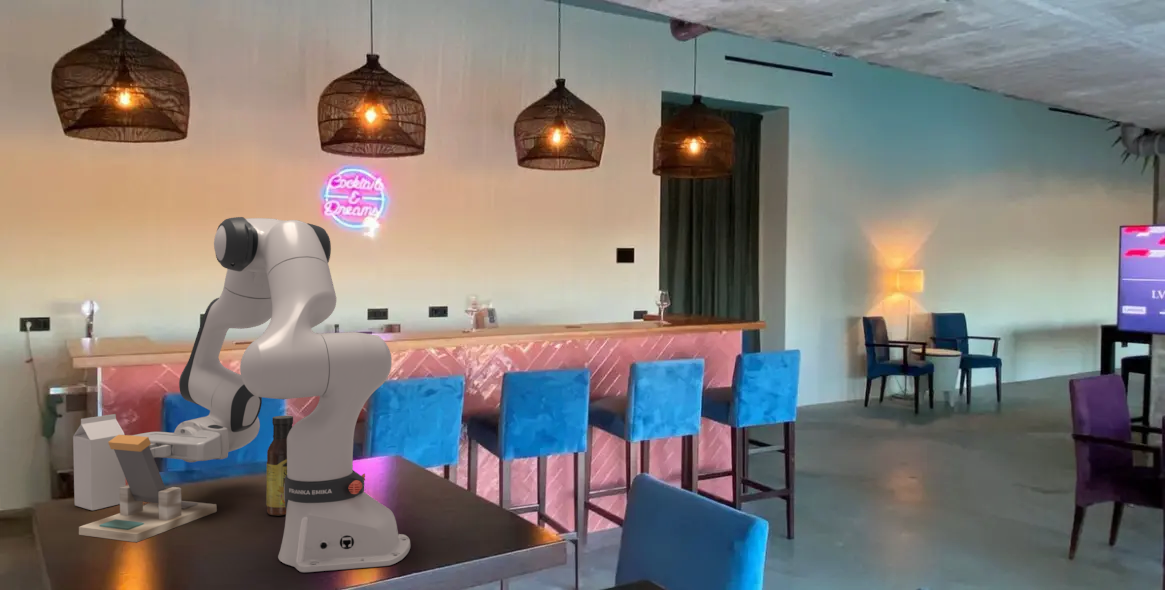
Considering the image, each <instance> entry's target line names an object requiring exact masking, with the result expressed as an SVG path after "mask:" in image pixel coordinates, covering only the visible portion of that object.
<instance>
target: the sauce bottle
mask: <svg viewBox="0 0 1165 590" xmlns="http://www.w3.org/2000/svg"><path fill="white" fill-rule="evenodd" d="M271 422H272V426H273V427H272V428H273V434H272V441H271V443H270V444H269V446H268V448H267V451H266V455H267V457H266V460H267V461H266V491H265V493H266V496H265V497H266V498H265V499H266V501H265V502H266V503H265V504H266V507H267V508H266V510H267V511H266V512H267V514H268V515H270V516H277V517H279V516H286V509H287V508H286V507H285V501H284V484H285V476H286V475H287V436H288V433H289V431H290V430H291V428H292V427H293V425H294V416H292V415H278V416H277V415H276V416H273V417H272V421H271Z"/></svg>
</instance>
